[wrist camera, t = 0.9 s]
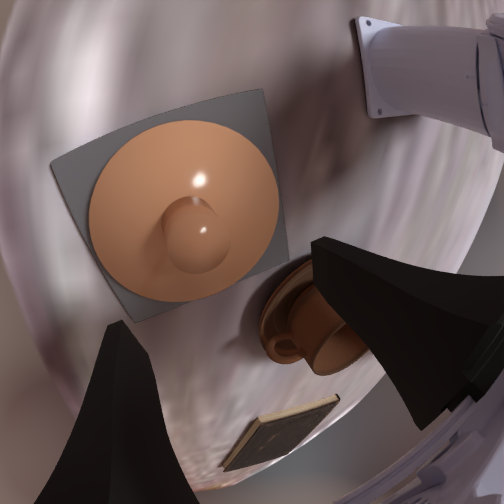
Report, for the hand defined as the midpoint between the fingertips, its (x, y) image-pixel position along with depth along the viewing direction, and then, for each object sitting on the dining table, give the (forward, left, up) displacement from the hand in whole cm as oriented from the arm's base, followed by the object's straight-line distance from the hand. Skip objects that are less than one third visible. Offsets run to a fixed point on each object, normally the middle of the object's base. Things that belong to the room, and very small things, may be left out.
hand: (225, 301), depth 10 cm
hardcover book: (0, +45, -9) cm, 46 cm away
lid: (0, 0, -8) cm, 8 cm away
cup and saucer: (-8, +12, -8) cm, 17 cm away
